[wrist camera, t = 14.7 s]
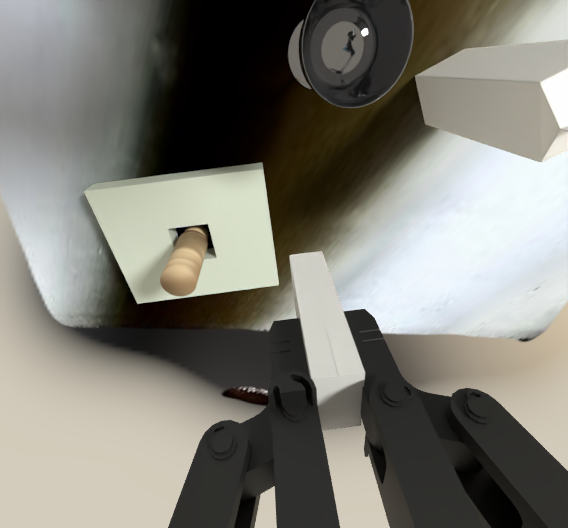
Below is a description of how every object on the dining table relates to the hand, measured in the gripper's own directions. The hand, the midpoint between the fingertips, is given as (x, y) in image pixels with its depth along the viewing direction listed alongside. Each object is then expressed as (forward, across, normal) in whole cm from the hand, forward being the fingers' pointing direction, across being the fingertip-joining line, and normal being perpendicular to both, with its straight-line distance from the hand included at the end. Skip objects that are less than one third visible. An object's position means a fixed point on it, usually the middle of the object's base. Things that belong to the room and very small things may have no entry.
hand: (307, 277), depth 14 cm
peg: (+29, -13, -11) cm, 34 cm away
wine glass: (+29, +6, +9) cm, 31 cm away
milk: (+30, +21, +4) cm, 36 cm away
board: (+29, -13, -11) cm, 34 cm away
